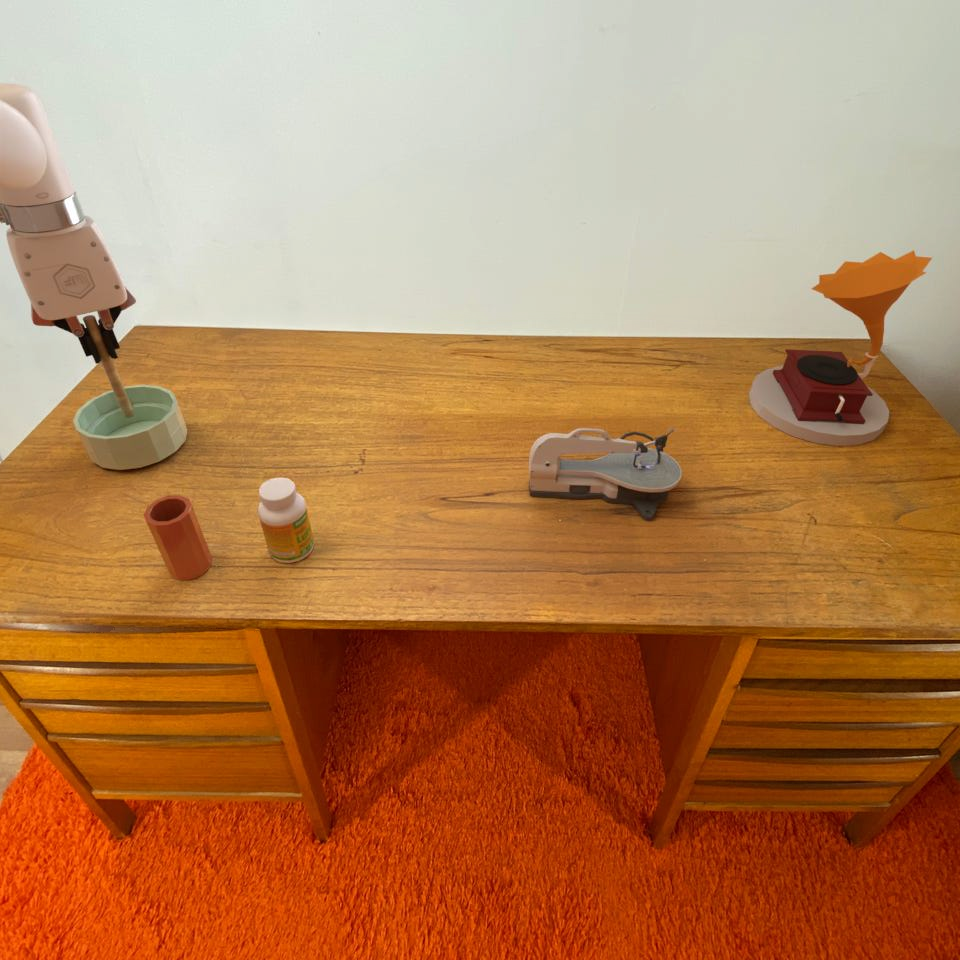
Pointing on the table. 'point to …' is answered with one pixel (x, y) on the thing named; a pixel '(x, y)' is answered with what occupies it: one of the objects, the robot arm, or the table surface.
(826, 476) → the table surface
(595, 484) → the jigsaw machine
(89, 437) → the bowl
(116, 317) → the robot arm
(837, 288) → the gramophone
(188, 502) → the utensil pot
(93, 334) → the stick
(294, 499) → the supplement bottle
